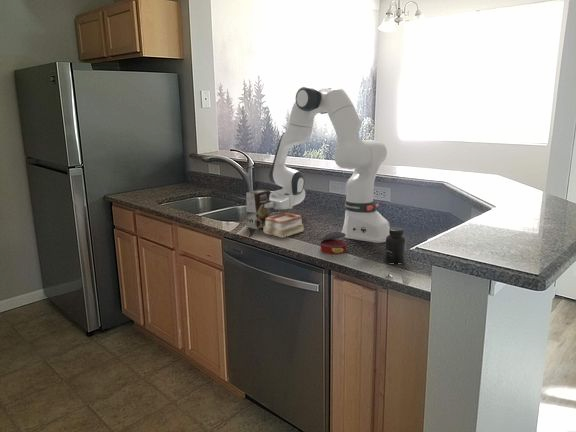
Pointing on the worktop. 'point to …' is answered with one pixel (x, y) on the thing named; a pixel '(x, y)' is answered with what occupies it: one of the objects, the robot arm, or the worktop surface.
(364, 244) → the worktop surface
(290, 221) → the tower base
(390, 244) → the supplement bottle
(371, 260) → the worktop surface
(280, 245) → the worktop surface
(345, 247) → the canned food
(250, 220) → the coffee box
